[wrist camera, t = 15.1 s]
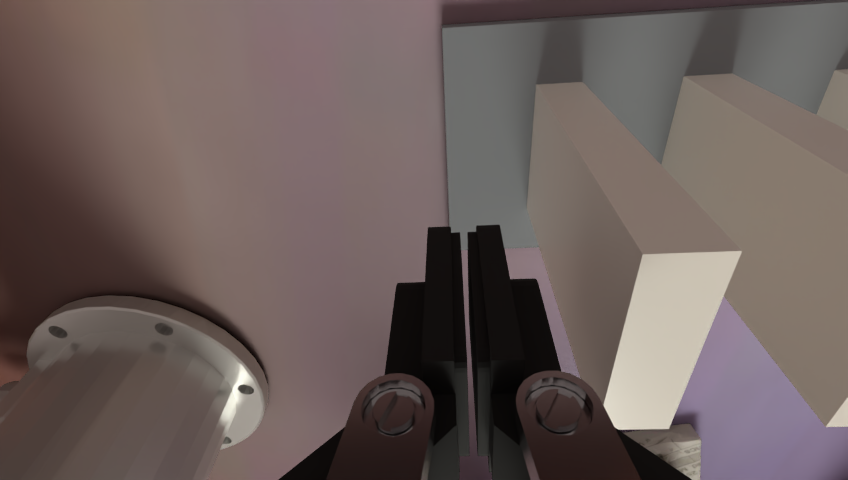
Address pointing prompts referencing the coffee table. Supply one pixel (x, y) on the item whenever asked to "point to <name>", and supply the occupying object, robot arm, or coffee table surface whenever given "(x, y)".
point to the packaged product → (673, 447)
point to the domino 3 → (836, 100)
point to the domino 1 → (622, 256)
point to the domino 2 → (775, 223)
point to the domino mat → (611, 84)
